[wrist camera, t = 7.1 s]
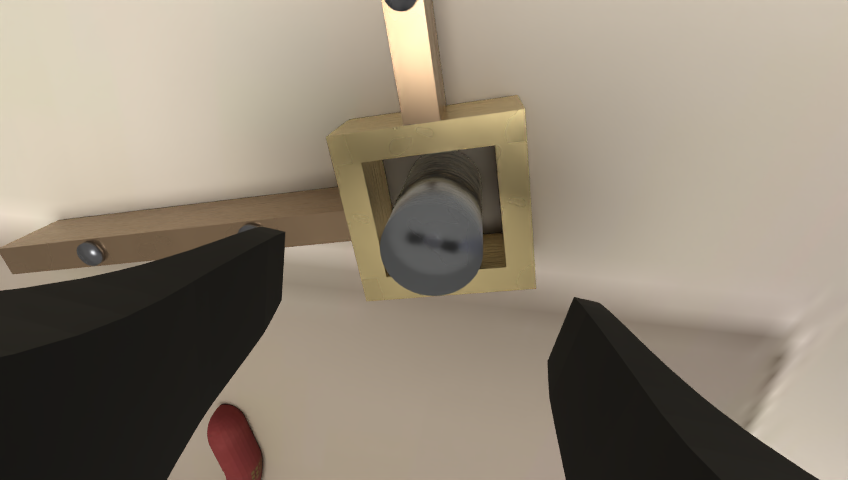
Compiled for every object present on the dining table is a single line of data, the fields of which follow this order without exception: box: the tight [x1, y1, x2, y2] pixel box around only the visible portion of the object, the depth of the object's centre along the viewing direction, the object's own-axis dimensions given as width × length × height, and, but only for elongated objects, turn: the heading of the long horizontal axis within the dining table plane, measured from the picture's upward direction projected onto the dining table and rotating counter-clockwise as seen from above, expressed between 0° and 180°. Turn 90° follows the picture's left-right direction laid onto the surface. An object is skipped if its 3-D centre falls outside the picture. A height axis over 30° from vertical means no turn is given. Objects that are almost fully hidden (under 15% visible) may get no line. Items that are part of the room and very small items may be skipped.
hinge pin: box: [380, 150, 483, 296], centre depth 16 cm, size 3×3×6 cm
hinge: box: [0, 0, 536, 301], centre depth 15 cm, size 22×22×3 cm
